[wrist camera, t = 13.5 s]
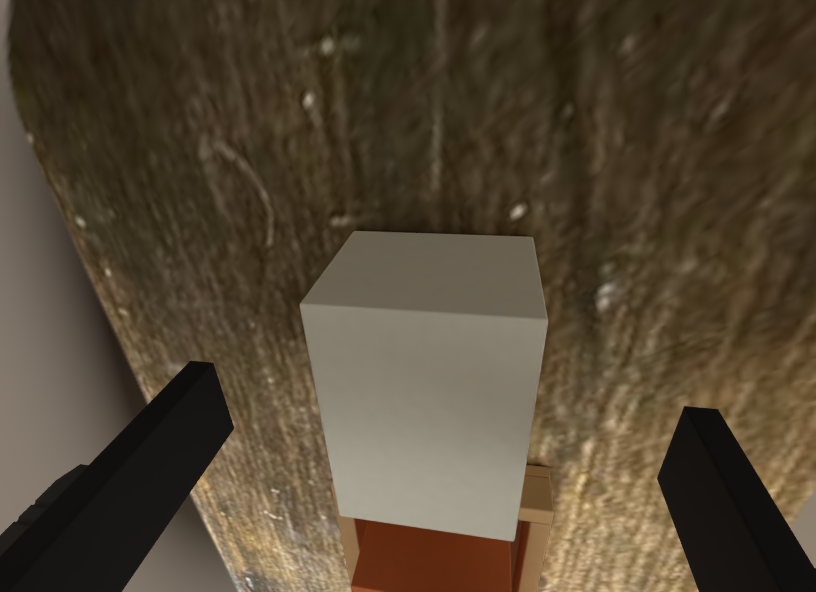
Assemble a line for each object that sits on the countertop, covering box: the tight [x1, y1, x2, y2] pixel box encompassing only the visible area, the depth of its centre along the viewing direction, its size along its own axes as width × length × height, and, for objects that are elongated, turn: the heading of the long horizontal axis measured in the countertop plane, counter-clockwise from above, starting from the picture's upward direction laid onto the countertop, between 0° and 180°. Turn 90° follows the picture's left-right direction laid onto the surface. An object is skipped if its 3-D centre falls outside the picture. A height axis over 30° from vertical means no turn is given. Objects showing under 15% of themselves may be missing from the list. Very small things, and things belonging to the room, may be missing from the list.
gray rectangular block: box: [300, 231, 548, 541], centre depth 13 cm, size 8×6×4 cm
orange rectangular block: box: [351, 520, 512, 592], centre depth 19 cm, size 8×6×4 cm
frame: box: [331, 465, 554, 592], centre depth 20 cm, size 11×9×2 cm
